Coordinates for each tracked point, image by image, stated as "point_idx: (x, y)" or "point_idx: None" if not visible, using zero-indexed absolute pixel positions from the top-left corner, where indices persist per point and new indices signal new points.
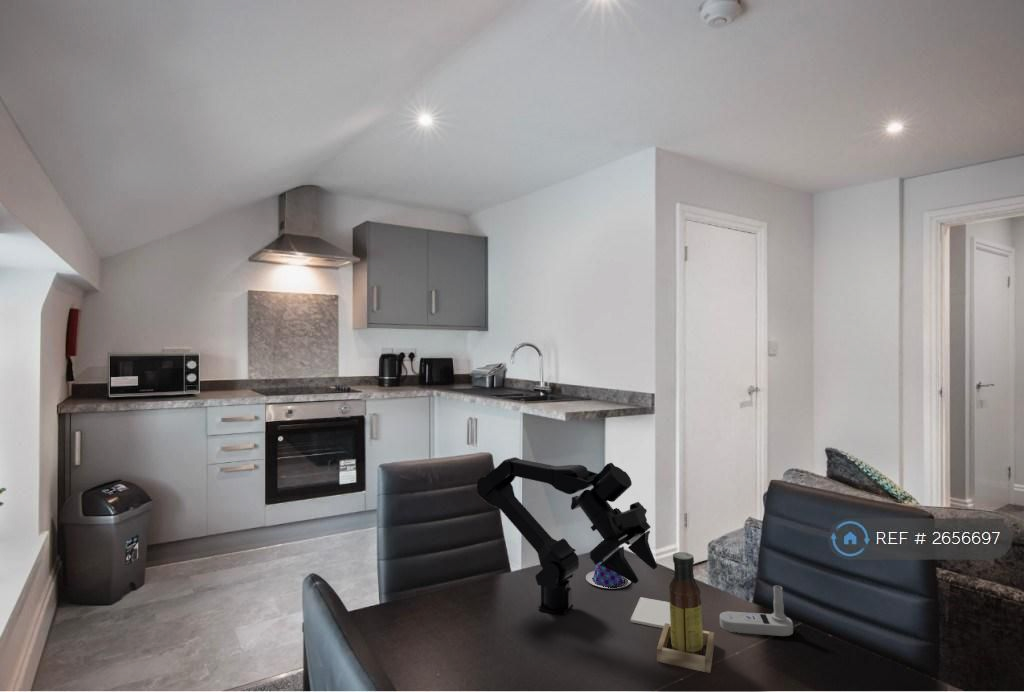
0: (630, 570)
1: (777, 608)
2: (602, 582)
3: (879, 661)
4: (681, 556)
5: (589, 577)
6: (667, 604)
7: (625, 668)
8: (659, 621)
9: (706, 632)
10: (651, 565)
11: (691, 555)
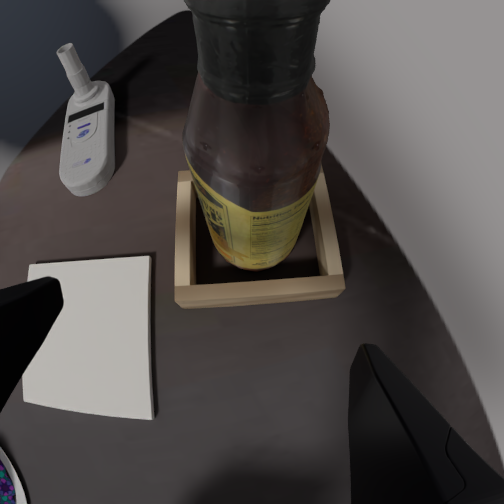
0: (427, 401)
1: (85, 76)
2: (8, 496)
3: (157, 30)
4: None
5: None
6: None
7: (403, 357)
8: (127, 333)
9: (185, 186)
10: (47, 316)
11: None
